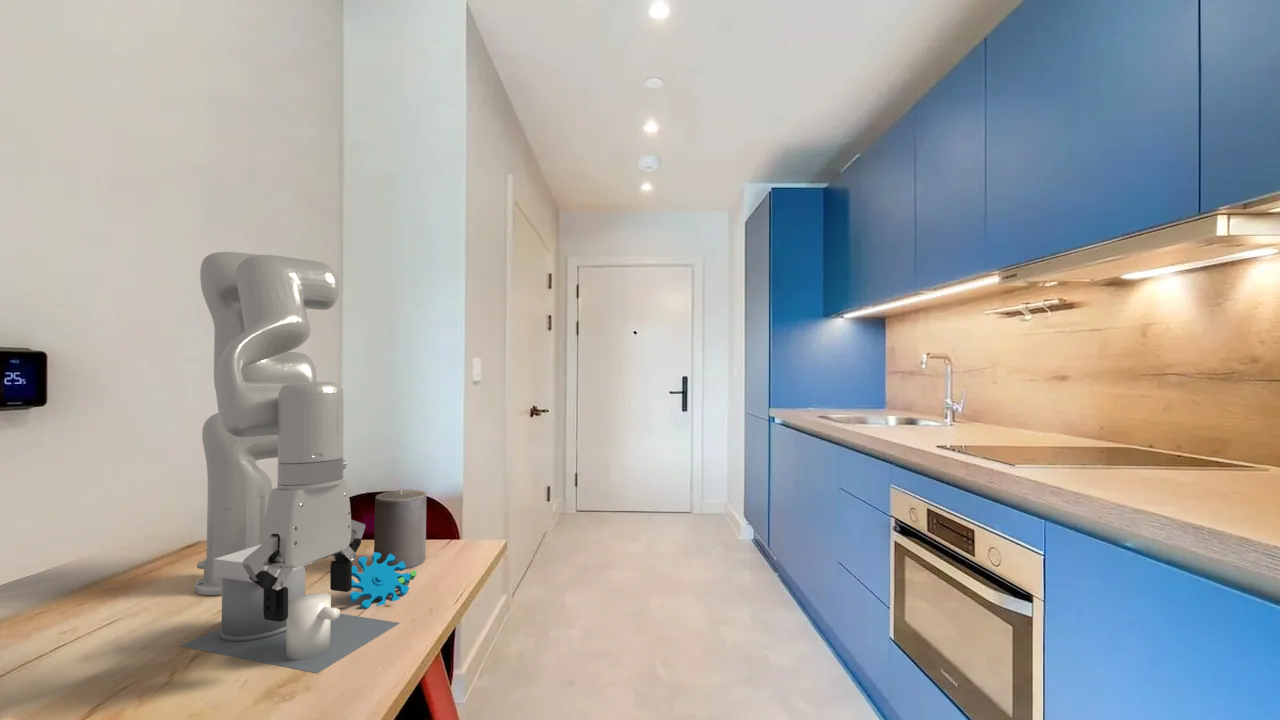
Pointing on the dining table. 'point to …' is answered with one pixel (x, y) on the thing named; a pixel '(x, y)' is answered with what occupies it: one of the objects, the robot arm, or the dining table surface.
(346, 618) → the motor stand
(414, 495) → the pillar candle
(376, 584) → the gear
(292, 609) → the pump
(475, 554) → the dining table surface
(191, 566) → the dining table surface
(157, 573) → the dining table surface
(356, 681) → the dining table surface
